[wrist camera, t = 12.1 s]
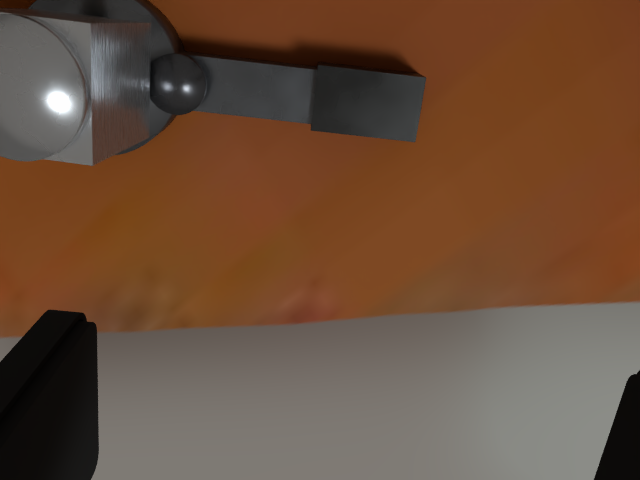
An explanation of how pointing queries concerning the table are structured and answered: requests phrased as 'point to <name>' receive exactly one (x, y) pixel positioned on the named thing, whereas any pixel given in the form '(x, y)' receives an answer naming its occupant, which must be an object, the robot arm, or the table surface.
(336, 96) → the ratchet
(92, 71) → the domed grey cube
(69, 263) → the table surface
